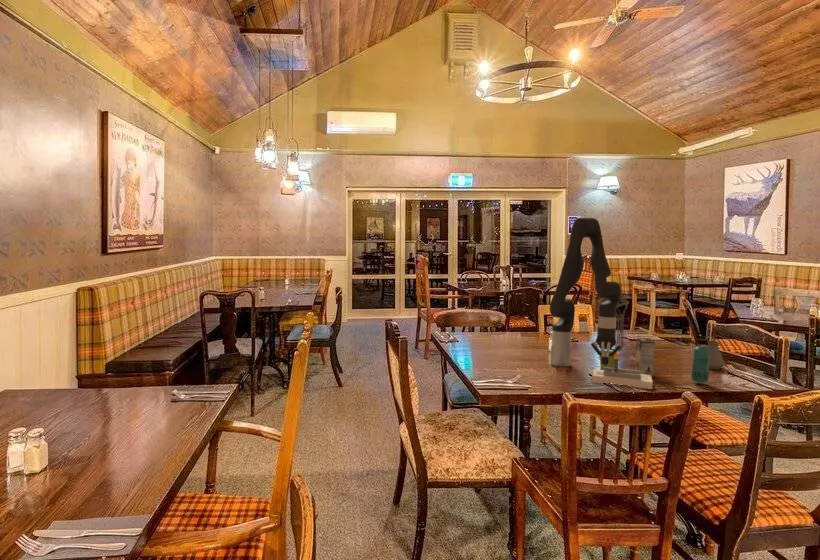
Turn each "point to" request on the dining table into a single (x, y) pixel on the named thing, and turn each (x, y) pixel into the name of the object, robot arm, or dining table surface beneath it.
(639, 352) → the coffee box
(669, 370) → the dining table surface
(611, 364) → the plant pot
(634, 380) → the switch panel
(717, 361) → the coffee pot
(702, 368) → the beverage bottle
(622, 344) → the geometric lantern
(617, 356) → the handle
